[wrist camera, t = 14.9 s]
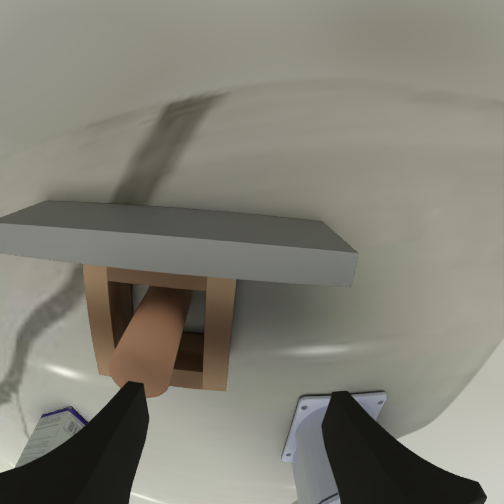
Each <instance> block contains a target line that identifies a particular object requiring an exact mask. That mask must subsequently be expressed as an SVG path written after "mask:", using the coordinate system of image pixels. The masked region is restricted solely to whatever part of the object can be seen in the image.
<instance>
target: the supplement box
mask: <svg viewBox="0 0 504 504" xmlns="http://www.w3.org/2000/svg"><path fill="white" fill-rule="evenodd" d="M86 424H87V422H86V421H85V420H84V419H83V418H82V417H81V416H80V415H79V414H78V413H77V412H76V411H75V410H74V409H73V408H71V407H68V408H65V409H62V410H59V411H55V412H52V413H48V414H45V415H42V416H41V418H40V420H39V422H38V424H37V426H36V427H35V429H34V431H33V433H32V435H31V437H30V439H29V441H28V443H27V444H26V446H25V448H24V450H23V452H22V454H21V456H20V458H19V460H18V462H17V464H16V466H15V468H17V467H20V466H22V465H24V464H27V463H29V462H31V461H33V460H35V459H37V458H39V457H41V456H43V455H45V454H47V453H48V452H50V451H52V450H53V449H55V448H56V447H58V446H59V445H61V444H62V443H64V442H65V441H67V440H68V439H69V438H71V437H72V436H73V435H74V434H76V433H77V432H78V431H79V430H81V429H82V428H83V427H84V426H85V425H86Z"/></svg>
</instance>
